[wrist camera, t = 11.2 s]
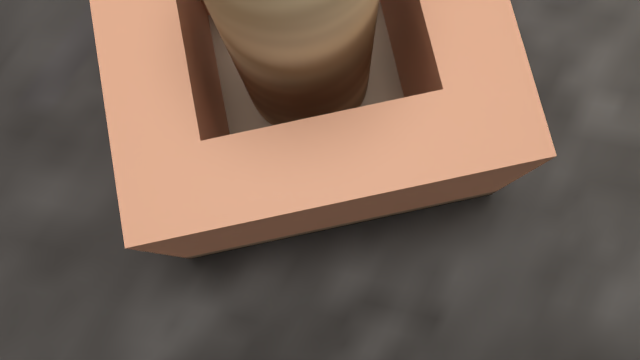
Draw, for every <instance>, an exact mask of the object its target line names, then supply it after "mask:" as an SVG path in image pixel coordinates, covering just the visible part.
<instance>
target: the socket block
mask: <svg viewBox="0 0 640 360" xmlns="http://www.w3.org/2000/svg"><path fill="white" fill-rule="evenodd" d="M90 6H91V13H92V20H93V27H94V34H95V41H96V48H97V55H98V62H99V69H100V76H101V83H102V90H103V97H104V104H105V111H106V119H107V126H108V133H109V140H110V147H111V154H112V161H113V168H114V175H115V182H116V189H117V196H118V203H119V210H120V217H121V224H122V231H123V238H124V245H125V248H127V249H133V250H139V251H145V252H152V253H158V254H164V255H170V256H176V257H183V258H189V259H190V258H195V257H200V256H204V255H209V254H214V253H218V252H223V251H228V250H232V249H237V248H242V247H247V246H251V245H256V244H261V243H265V242H270V241H275V240H279V239H284V238H289V237H293V236H298V235H303V234H307V233H312V232H317V231H321V230H326V229H331V228H335V227H340V226H345V225H349V224H354V223H359V222H363V221H368V220H373V219H377V218H382V217H387V216H391V215H396V214H401V213H405V212H410V211H415V210H420V209H424V208H429V207H434V206H438V205H443V204H448V203H452V202H457V201H462V200H466V199H471V198H476V197H480V196H485V195H490V194H492V193H494V192H496V191H498V190H499V189H501V188H503V187H504V186H506V185H508V184H510V183H511V182H513V181H515V180H516V179H518V178H520V177H522V176H523V175H525V174H527V173H528V172H530V171H532V170H534V169H535V168H537V167H539V166H540V165H542V164H544V163H545V162H547V161H549V160H551V159H552V158H554V157H556V156H557V155H556V152H555V149H554V145H553V142H552V139H551V135H550V132H549V129H548V125H547V122H546V119H545V115H544V112H543V109H542V105H541V102H540V99H539V95H538V92H537V89H536V85H535V82H534V79H533V75H532V72H531V69H530V65H529V62H528V59H527V55H526V52H525V49H524V45H523V42H522V39H521V35H520V32H519V29H518V25H517V22H516V19H515V15H514V12H513V9H512V5H511V2H510V0H379V6H378V13H377V21H376V28H375V36H374V43H373V51H372V59H371V66H370V74H369V81H368V87H367V92H366V95H365V98H364V100H363V102H362V104H361V106H360V107H357V108H352V109H348V110H343V111H338V112H334V113H329V114H324V115H320V116H315V117H310V118H305V119H301V120H296V121H291V122H287V123H282V124H277V125H271V124H270V123H269V122H268V121H266V120H265V119H264V118H263V117H262V115H261V114H260V113H259V112H258V110H257V109H256V107H255V106H254V104H253V102H252V100H251V98H250V96H249V93H248V91H247V89H246V87H245V85H244V83H243V81H242V79H241V77H240V75H239V73H238V71H237V69H236V67H235V65H234V63H233V61H232V58H231V56H230V54H229V52H228V50H227V48H226V46H225V44H224V42H223V40H222V38H221V36H220V34H219V32H218V30H217V28H216V26H215V23H214V21H213V19H212V17H211V15H210V13H209V11H208V9H207V7H206V5H205V3H204V1H203V0H90Z"/></svg>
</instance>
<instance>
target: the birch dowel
mask: <svg viewBox="0 0 640 360" xmlns="http://www.w3.org/2000/svg"><path fill="white" fill-rule="evenodd" d="M203 1H204V3H205V5H206V7H207V9H208V11H209V13H210V15H211V17H212V19H213V21H214V23H215V26H216V28H217V30H218V32H219V34H220V36H221V38H222V40H223V42H224V44H225V46H226V48H227V50H228V52H229V54H230V56H231V58H232V61H233V63H234V65H235V67H236V69H237V71H238V73H239V75H240V77H241V79H242V81H243V83H244V85H245V87H246V89H247V91H248V93H249V96H250V98H251V100H252V102H253V104H254V106H255V107H256V109H257V110H258V112H259V113H260V114H261V115H262V117H263V118H264V119H265V120H266V121H268V122H269V123H270V124H271V125H277V124H282V123H287V122H291V121H296V120H301V119H305V118H310V117H315V116H320V115H324V114H329V113H334V112H338V111H343V110H348V109H352V108H357V107H360V106H361V104H362V102H363V100H364V98H365V95H366V92H367V87H368V81H369V74H370V66H371V59H372V51H373V43H374V36H375V28H376V21H377V13H378V6H379V0H203Z"/></svg>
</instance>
